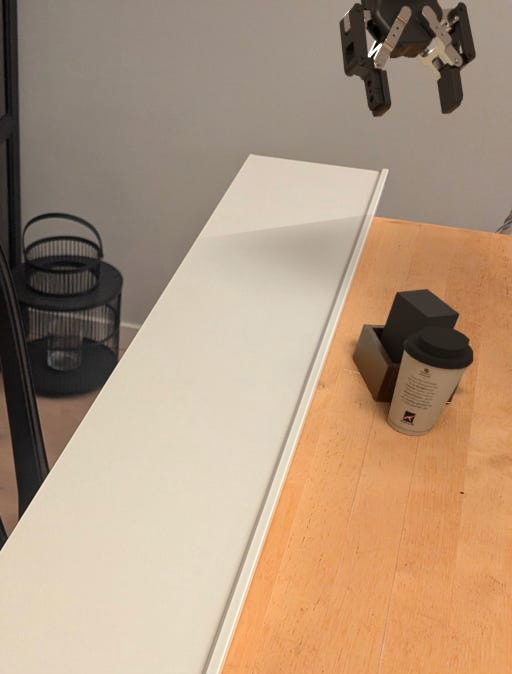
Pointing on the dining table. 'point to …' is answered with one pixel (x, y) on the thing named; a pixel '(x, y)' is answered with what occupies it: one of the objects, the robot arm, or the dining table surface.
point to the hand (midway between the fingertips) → (417, 111)
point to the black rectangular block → (414, 319)
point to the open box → (377, 364)
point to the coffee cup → (428, 378)
